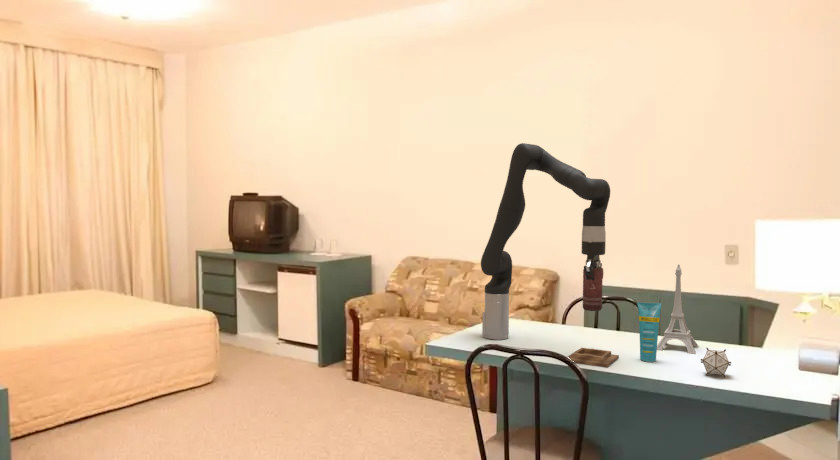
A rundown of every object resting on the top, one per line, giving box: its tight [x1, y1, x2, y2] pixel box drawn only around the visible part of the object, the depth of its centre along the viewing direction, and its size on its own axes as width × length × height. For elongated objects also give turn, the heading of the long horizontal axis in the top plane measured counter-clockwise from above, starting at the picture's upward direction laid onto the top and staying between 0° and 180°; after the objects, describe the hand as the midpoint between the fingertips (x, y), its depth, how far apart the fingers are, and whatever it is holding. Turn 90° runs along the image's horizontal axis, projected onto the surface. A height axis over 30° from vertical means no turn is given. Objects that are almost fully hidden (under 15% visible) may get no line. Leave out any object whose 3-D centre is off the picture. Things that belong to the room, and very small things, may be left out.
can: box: [582, 266, 604, 312], centre depth 208 cm, size 6×6×14 cm
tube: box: [636, 301, 662, 363], centre depth 208 cm, size 7×5×19 cm, turn 73°
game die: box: [700, 347, 732, 378], centre depth 190 cm, size 9×8×10 cm
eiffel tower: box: [657, 264, 700, 355], centre depth 225 cm, size 13×13×30 cm
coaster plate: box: [567, 347, 620, 369], centre depth 209 cm, size 14×14×2 cm
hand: (592, 292), depth 208 cm, fingers closed
